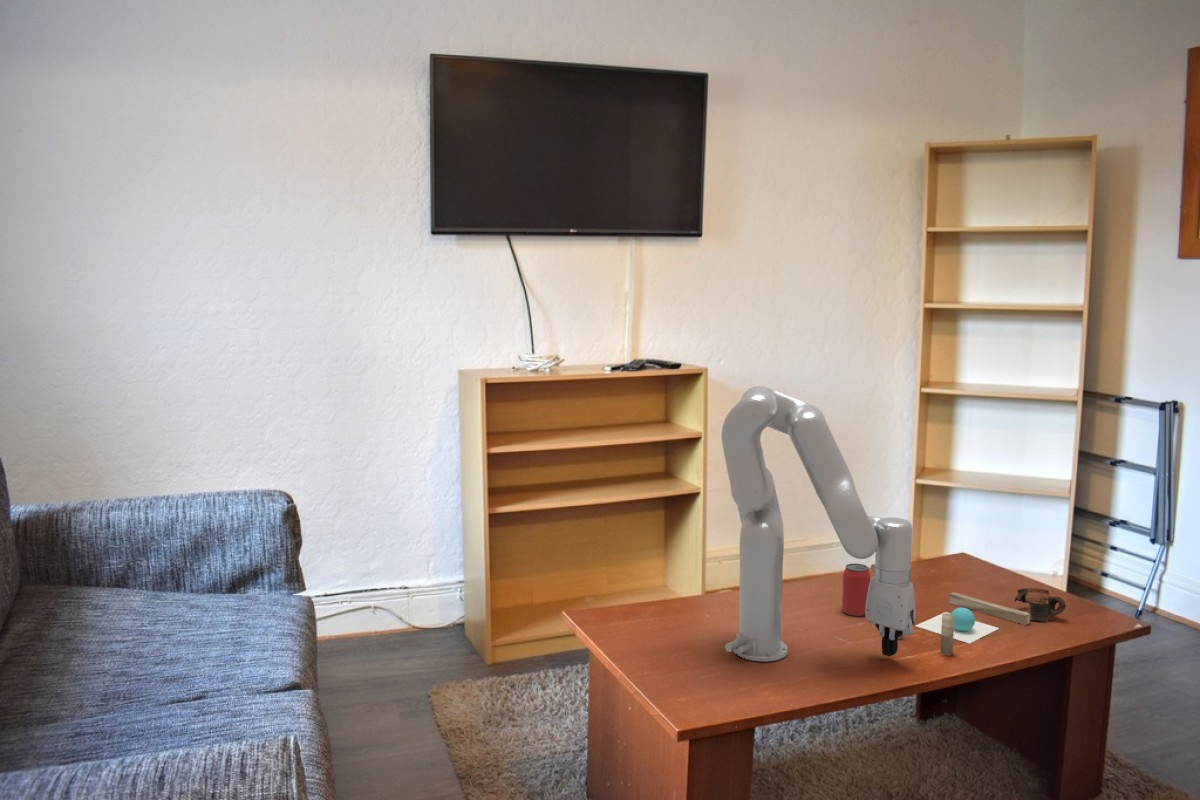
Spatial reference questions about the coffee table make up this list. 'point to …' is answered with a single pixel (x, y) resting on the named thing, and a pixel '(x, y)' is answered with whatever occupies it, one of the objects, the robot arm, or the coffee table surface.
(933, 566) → the coffee table surface
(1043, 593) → the pottery mug
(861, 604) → the beer can
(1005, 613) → the rail
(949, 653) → the post right
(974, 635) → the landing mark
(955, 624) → the ball
